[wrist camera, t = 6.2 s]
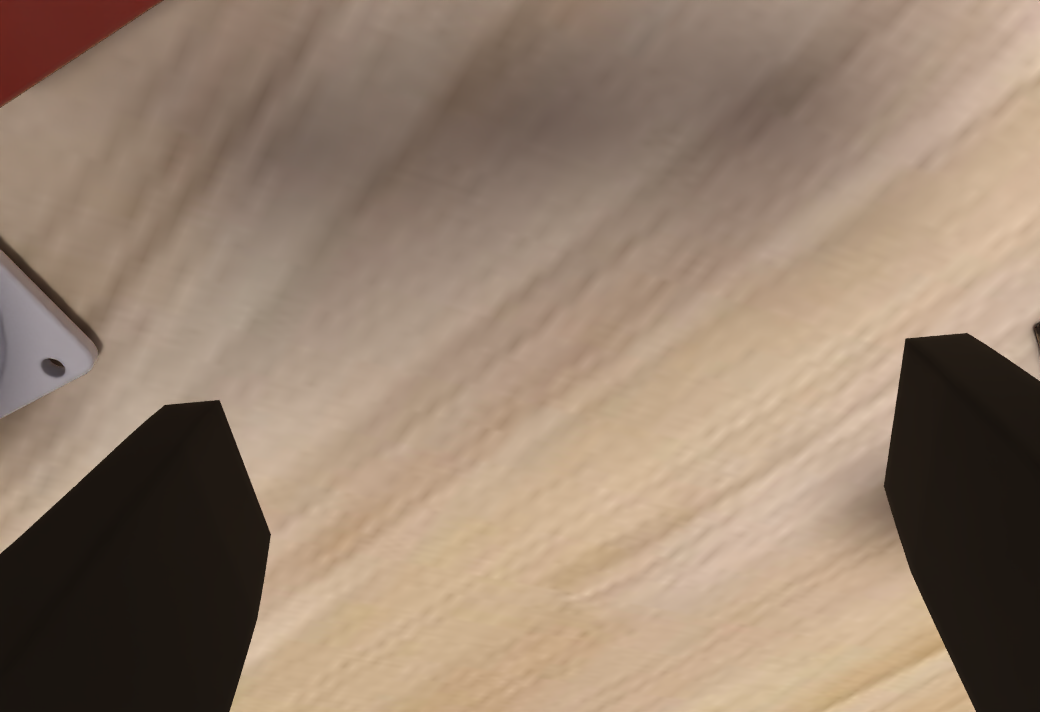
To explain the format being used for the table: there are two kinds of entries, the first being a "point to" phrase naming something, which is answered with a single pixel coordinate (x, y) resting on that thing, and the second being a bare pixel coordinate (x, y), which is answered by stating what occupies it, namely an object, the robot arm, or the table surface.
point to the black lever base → (1038, 333)
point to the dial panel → (54, 36)
